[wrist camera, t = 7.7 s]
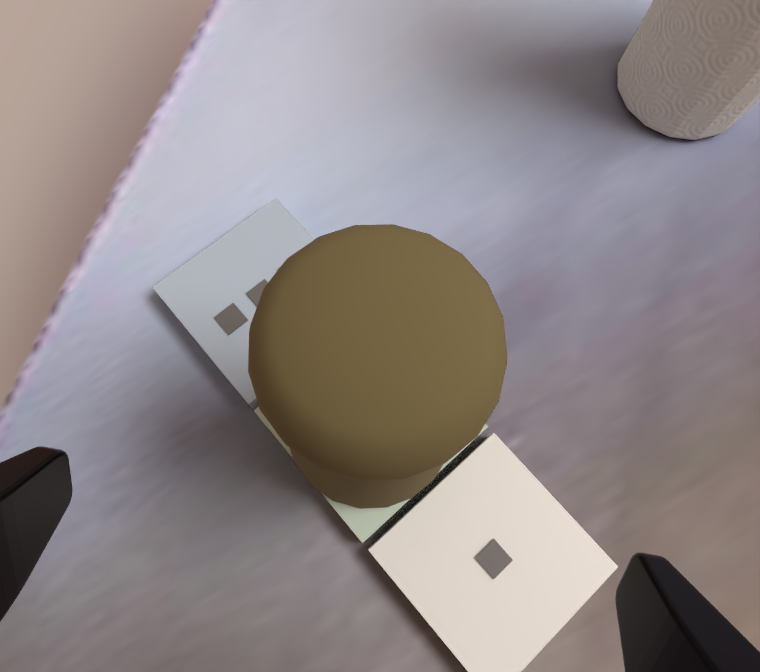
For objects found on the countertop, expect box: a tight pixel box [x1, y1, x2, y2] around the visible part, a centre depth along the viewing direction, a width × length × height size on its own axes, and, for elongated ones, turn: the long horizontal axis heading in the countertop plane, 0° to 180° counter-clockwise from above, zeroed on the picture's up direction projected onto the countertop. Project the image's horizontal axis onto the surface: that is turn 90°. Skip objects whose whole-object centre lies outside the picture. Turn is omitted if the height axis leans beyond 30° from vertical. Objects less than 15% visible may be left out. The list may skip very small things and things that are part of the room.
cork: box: [248, 225, 507, 509], centre depth 15 cm, size 6×6×11 cm
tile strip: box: [152, 198, 618, 672], centre depth 21 cm, size 6×19×1 cm, turn 41°
